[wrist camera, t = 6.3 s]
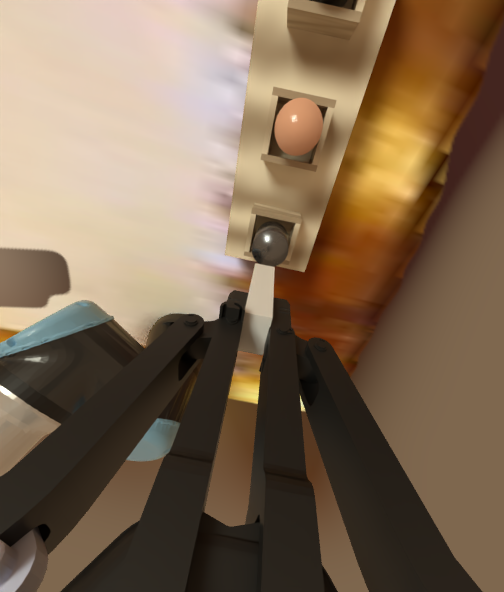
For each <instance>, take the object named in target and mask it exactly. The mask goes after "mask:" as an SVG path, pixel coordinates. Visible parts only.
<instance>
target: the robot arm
mask: <svg viewBox="0 0 504 592" xmlns="http://www.w3.org/2000/svg"><path fill="white" fill-rule="evenodd" d="M274 272H275V267H272V266H267V265H262V264H257V263H255V267H254V271H253V276H252V280H251V285H250V289H249V293H245V292H240V291H235V290H234V291H233V292H231V293H230V294H229V297H228V300H227V302H224V303H222V304H221V306H220V314H219V319H217V320H215V321H206V322H204V320H203V318H202V317H200V316H199V315H195V314H170V315H166V316H164V317H162V318H160V319H159V320H158V321H157V322H156V323H155V324H154V326H153V327H152V328H151V330H150V332H149V335H148V339H147V343H146V347H145V349H144V348H143V347H142V346H141V345H140V344H139V343H138V342H137V341H136V340H135V339H134V338H133V337H132V336H131V335H130V334H129V333H128V332H126V331H125V330H124V329H123V328H122V327H121V326H120V325H119V324H118V323H117V322H116V321H115V320H114V317H113V316H110V315H108V314H107V313H106V312H105V311H104V310H102V309H101V308H100V307H99V306H98V305H97V304H95V303H94V302H91V301H87V300H82V301H78V302H75V303H73V304H71V305H69V306H67V307H65V308H63V309H61V310H59V311H58V312H56V313H54V314H52V315H50V316H48V317H46V318H45V319H43V320H41V321H39V322H37V323H35V324H34V325H32V326H30V327H28V328H26V329H25V330H23V331H21V332H19V333H18V334H16V335H14V336H12V337H11V338H9V339H7V340H5V341H3V342H1V343H0V592H36V591H37V589H38V588H39V586H40V584H41V582H42V580H43V578H44V575H45V573H46V570H47V564H48V554H49V553H50V552H51V551H53V549H54V548H56V546H57V545H58V544H59V543H60V542H61V541H62V540H63V539H64V538H65V537H66V535H68V534H69V533H70V531H71V530H72V529H73V528H74V527H75V526H76V524H77V523H78V522H79V521H80V519H81V518H82V517H83V516H84V514H85V513H86V512H87V511H88V510H89V508H90V507H91V506H92V504H93V503H94V502H95V500H96V499H97V498H98V496H99V495H100V494H101V492H102V491H103V490H104V488H105V487H106V486H107V484H108V483H109V482H110V480H111V479H112V478H113V476H114V475H115V474H116V472H117V471H118V470H119V468H120V467H121V466H122V464H123V463H124V462H125V460H132V461H151V460H156V459H159V458H162V457H164V456H165V455H166V456H165V457H164V459H163V462H162V464H161V466H160V469H159V472H158V474H157V477H156V479H155V482H154V485H153V487H152V490H151V493H150V495H149V498H148V500H147V503H146V505H145V508H144V511H143V513H142V516H141V519H140V521H138V522H136V523H135V524H133V525H132V526H130V527H129V528H128V529H126V530H125V531H124V532H123V533H121V534H120V536H118V537H117V538H116V539H115V540H114V541H113V542H112V543H111V544H110V545H109V546H108V547H107V548H106V549H105V550H103V552H102V553H100V554H99V555H98V556H97V557H96V558H95V559H94V560H93V561H92V562H91V563H90V564H89V565H88V566H87V567H86V568H85V569H84V570H83V571H82V572H80V573H79V574H78V575H77V576H76V577H75V578H74V579H73V580H72V581H71V582H70V583H69V584H68V585H67V586H66V587H65V588H64V589H63V590H62V591H61V592H338V591H337V590H336V588H335V586H334V584H333V582H332V580H331V578H330V577H329V575H328V573H327V572H326V570H325V569H324V567H323V566H322V564H321V563H322V562H321V554H320V544H319V533H318V524H317V514H316V503H315V495H314V489H313V486H312V483H311V482H310V481H309V480H308V478H307V475H306V465H305V453H304V441H303V428H302V417H301V404H300V396H301V399H302V402H303V405H304V407H305V410H306V413H307V416H308V419H309V422H310V425H311V428H312V431H313V434H314V436H315V440H316V442H317V445H318V448H319V451H320V454H321V457H322V460H323V463H324V466H325V469H326V471H327V474H328V477H329V480H330V483H331V486H332V489H333V492H334V495H335V498H336V501H337V504H338V507H339V510H340V512H341V515H342V518H343V521H344V524H345V527H346V530H347V533H348V536H349V539H350V542H351V545H352V547H353V550H354V553H355V556H356V559H357V562H358V564H359V567H360V570H361V572H362V575H363V577H364V580H365V583H366V585H367V588H368V590H369V592H482V591H481V589H480V588H479V587H478V586H477V585H476V583H475V582H474V581H473V580H472V578H471V577H470V576H469V575H468V574H467V572H466V571H465V570H464V569H463V567H462V566H461V565H460V564H459V562H458V561H457V560H456V559H455V558H454V556H453V554H452V553H451V551H450V549H449V547H448V546H447V544H446V542H445V540H444V539H443V537H442V535H441V533H440V532H439V530H438V528H437V527H436V525H435V524H434V522H433V520H432V518H431V516H430V515H429V513H428V511H427V509H426V508H425V506H424V504H423V502H422V501H421V499H420V497H419V496H418V494H417V492H416V490H415V489H414V487H413V485H412V483H411V482H410V480H409V478H408V477H407V475H406V473H405V471H404V470H403V468H402V466H401V465H400V463H399V461H398V459H397V458H396V456H395V454H394V452H393V451H392V449H391V448H390V446H389V444H388V442H387V441H386V439H385V437H384V435H383V434H382V432H381V430H380V428H379V427H378V425H377V423H376V421H375V420H374V418H373V416H372V415H371V413H370V411H369V410H368V408H367V406H366V404H365V403H364V401H363V399H362V397H361V396H360V394H359V392H358V391H357V389H356V387H355V385H354V384H353V382H352V380H351V379H350V377H349V375H348V373H347V372H346V370H345V368H344V366H343V365H342V363H341V361H340V359H339V358H338V356H337V354H336V353H335V351H334V349H333V347H332V346H331V345H330V344H329V343H328V342H327V341H325V340H323V339H321V338H311V339H309V341H305V340H303V339H301V338H299V337H297V336H296V335H295V332H294V330H293V329H292V328H291V316H290V304H289V303H288V302H287V300H284V299H279V298H274V297H273V296H274ZM238 351H243V352H248V353H254V354H259V355H263V352H264V355H263V359H262V363H261V366H260V370H259V371H260V372H261V375H260V386H259V397H258V408H257V421H256V430H255V442H254V453H253V464H252V476H251V486H250V487H251V488H250V497H249V506H248V511H247V517H246V523H245V525H240V526H234V527H229V526H226V525H225V524H223V523H221V522H220V521H218V520H216V519H214V518H213V517H211V516H209V515H208V514H206V513H204V511H205V506H206V501H207V496H208V491H209V486H210V481H211V476H212V472H213V467H214V462H215V457H216V453H217V448H218V443H219V438H220V433H221V428H222V423H223V418H224V414H225V410H226V404H227V400H228V395H229V391H230V386H231V381H232V376H233V371H234V367H235V362H236V357H237V352H238ZM48 433H51V434H50V435H49V436H48V437H47V438H45V439H44V440H43V441H42V442H41V443H40V444H39V445H38V446H37V447H35V448H34V449H33V450H32V451H31V452H30V453H29V454H28V455H27V456H26V457H24V458H23V459H22V460H21V461H20V462H19V463H18V464H17V465H15V464H16V463H17V462H18V461H19V460H20V459H21V458H22V457H23V456H24V455H25V454H26V452H28V451H29V450H30V449H31V448H32V447H33V446H34V445H35V444H36V443H37V442H38V441H39V440H40V439H41V438H42V437H43V436H44V435H46V434H48ZM14 465H15V466H14ZM13 466H14V467H13ZM12 467H13V468H12ZM11 468H12V469H11ZM10 469H11V470H10ZM9 470H10V471H9Z"/></svg>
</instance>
